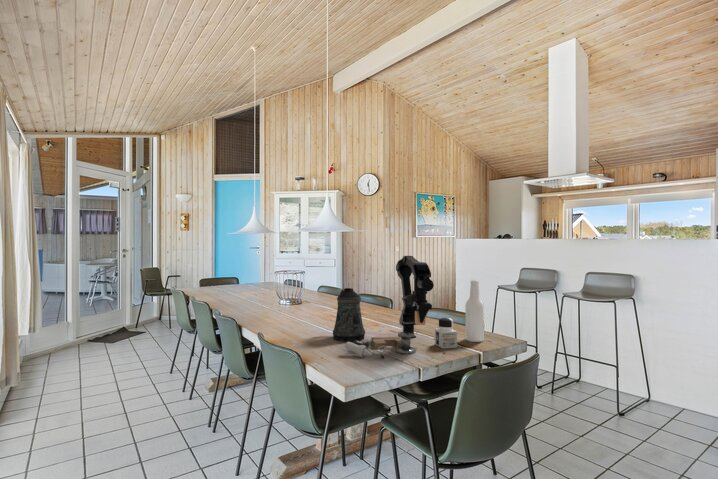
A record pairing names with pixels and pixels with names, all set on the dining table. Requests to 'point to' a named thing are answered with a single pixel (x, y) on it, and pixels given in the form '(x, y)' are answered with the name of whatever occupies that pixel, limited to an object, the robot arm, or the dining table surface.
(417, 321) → the block
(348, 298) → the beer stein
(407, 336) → the bobbin
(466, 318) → the alcohol
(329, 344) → the dining table surface
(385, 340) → the notched board
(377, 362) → the dining table surface
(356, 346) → the clip-on lamp
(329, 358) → the dining table surface
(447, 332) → the container
